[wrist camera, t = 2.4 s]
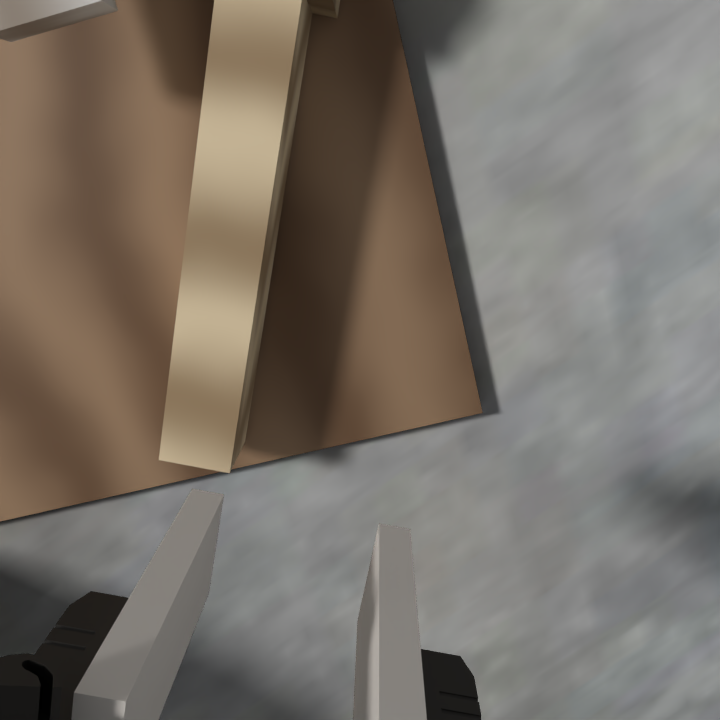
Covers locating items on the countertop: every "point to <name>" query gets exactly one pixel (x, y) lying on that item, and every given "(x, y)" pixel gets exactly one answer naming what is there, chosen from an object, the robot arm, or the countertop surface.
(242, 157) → the light wooden beam
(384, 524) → the robot arm
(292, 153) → the base
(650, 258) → the countertop surface
